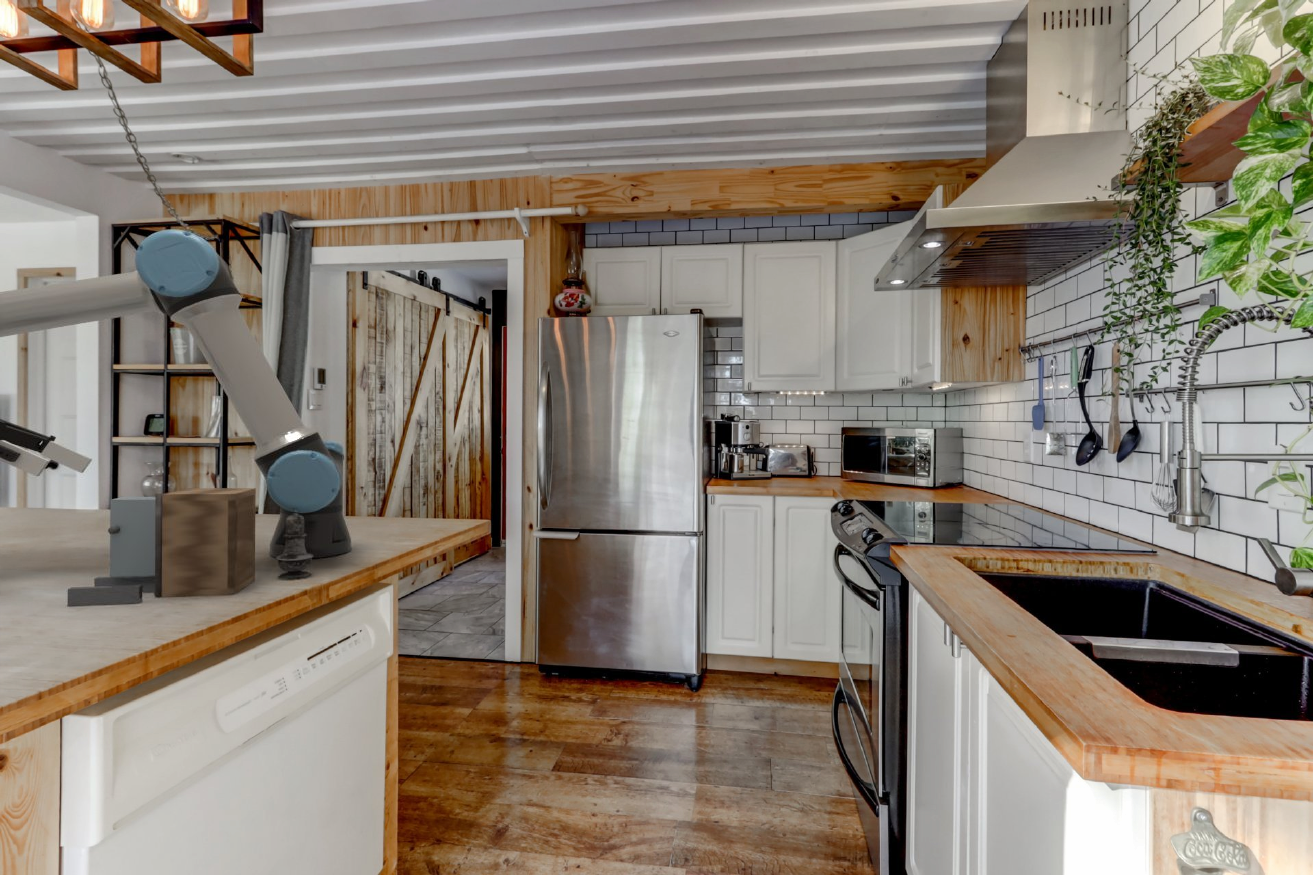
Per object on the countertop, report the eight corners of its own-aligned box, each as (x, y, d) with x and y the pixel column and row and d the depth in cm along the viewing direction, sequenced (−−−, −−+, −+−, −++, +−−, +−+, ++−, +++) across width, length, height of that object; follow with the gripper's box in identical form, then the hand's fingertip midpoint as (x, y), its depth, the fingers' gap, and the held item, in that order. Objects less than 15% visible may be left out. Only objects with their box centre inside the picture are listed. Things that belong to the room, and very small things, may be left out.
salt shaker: (307, 571, 119) (308, 506, 119) (317, 576, 115) (318, 509, 115) (271, 575, 115) (272, 508, 115) (280, 582, 111) (281, 512, 111)
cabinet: (153, 597, 100) (154, 494, 100) (180, 583, 109) (181, 488, 109) (234, 594, 103) (235, 494, 102) (254, 580, 112) (255, 488, 111)
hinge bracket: (67, 605, 95) (67, 588, 95) (97, 592, 102) (98, 576, 102) (138, 603, 97) (139, 586, 97) (163, 590, 104) (163, 574, 104)
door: (106, 584, 107) (106, 500, 106) (123, 577, 112) (123, 496, 111) (162, 583, 109) (162, 500, 108) (176, 576, 114) (177, 496, 113)
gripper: (-42, 424, 112) (89, 483, 118) (-167, 419, 88) (5, 492, 94) (-14, 387, 113) (114, 447, 119) (-130, 372, 90) (37, 447, 96)
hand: (66, 467), depth 107 cm, fingers open, 13 cm apart
